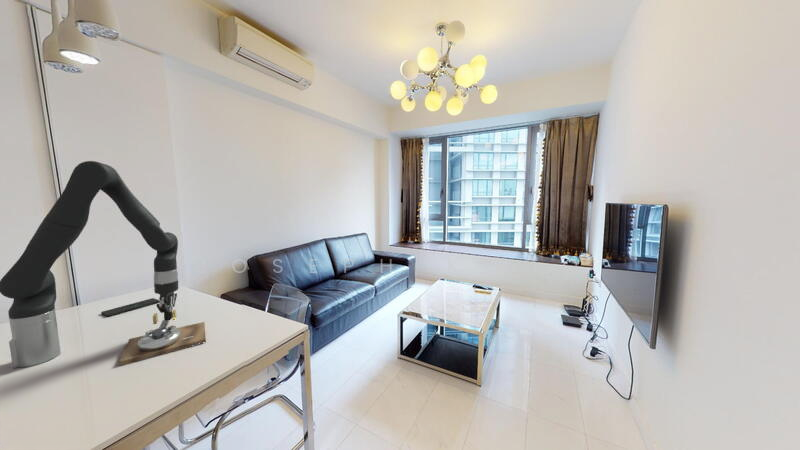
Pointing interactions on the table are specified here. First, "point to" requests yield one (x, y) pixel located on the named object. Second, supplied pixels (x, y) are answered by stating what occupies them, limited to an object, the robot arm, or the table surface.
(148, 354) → the base plate
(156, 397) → the table surface
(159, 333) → the silver rotary lever
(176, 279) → the robot arm
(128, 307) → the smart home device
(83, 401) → the table surface
